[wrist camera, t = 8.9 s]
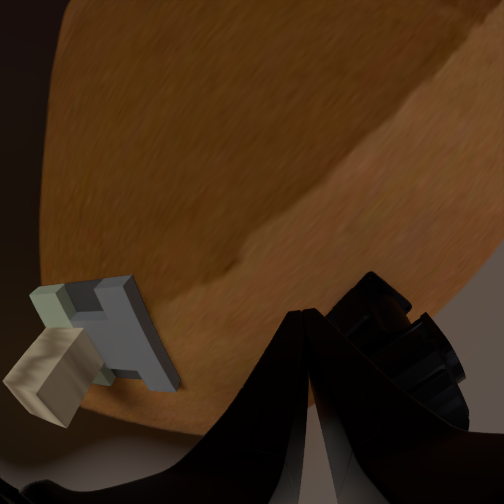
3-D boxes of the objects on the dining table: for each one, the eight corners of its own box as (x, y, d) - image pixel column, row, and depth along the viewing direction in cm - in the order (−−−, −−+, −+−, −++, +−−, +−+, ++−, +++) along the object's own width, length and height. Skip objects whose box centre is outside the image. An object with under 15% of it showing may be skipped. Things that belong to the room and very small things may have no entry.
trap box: (132, 274, 23) (122, 285, 21) (180, 379, 29) (176, 392, 27) (38, 286, 25) (29, 295, 23) (88, 372, 31) (82, 381, 29)
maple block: (84, 328, 24) (35, 394, 15) (104, 362, 26) (66, 428, 17) (47, 326, 25) (2, 381, 16) (66, 357, 27) (29, 412, 18)
